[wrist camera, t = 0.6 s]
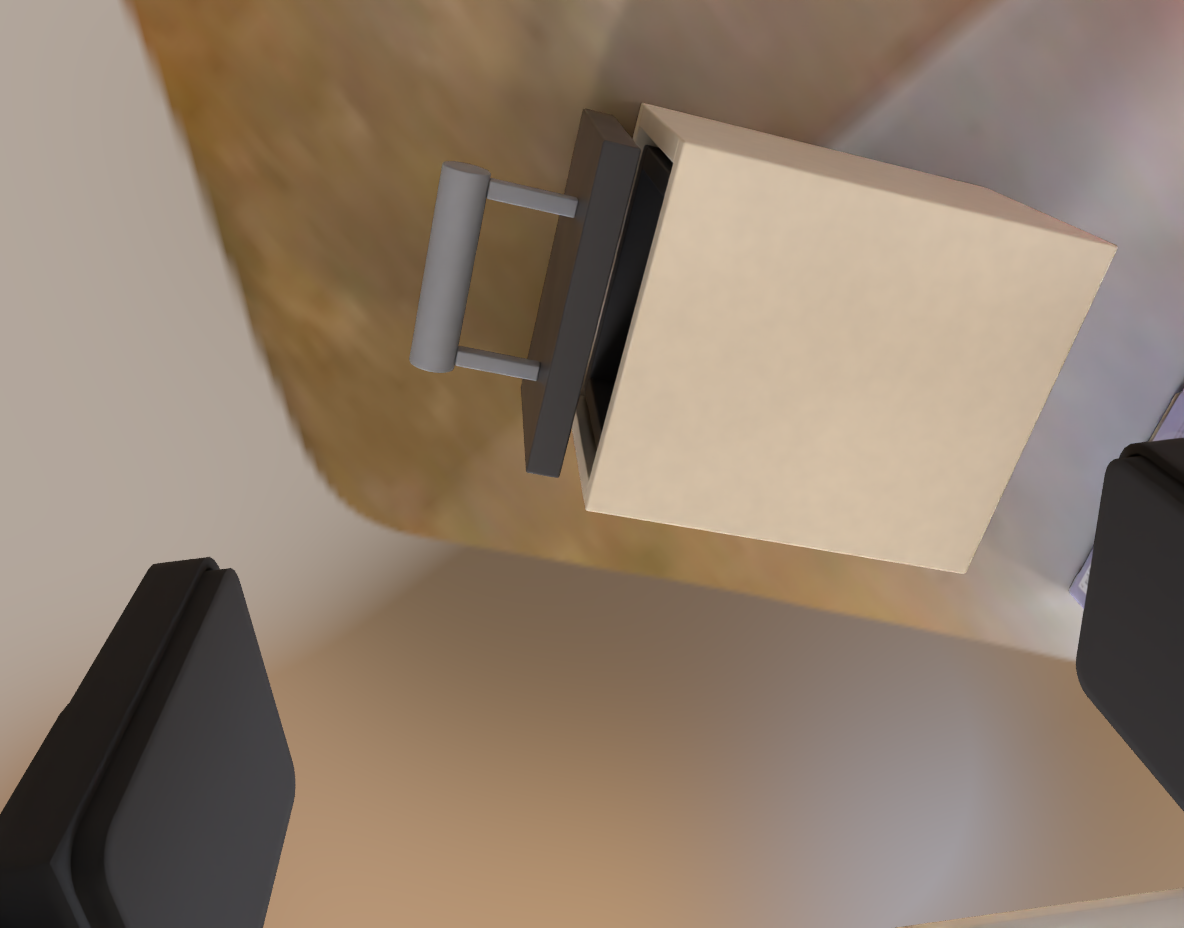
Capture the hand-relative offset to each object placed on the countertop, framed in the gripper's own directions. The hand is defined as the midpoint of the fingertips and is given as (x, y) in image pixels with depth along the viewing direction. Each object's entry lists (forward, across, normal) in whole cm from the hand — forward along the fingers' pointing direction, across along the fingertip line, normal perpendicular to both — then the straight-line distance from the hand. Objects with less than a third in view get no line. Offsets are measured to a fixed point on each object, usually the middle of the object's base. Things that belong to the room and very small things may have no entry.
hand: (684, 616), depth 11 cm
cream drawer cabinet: (+31, -9, +6) cm, 33 cm away
